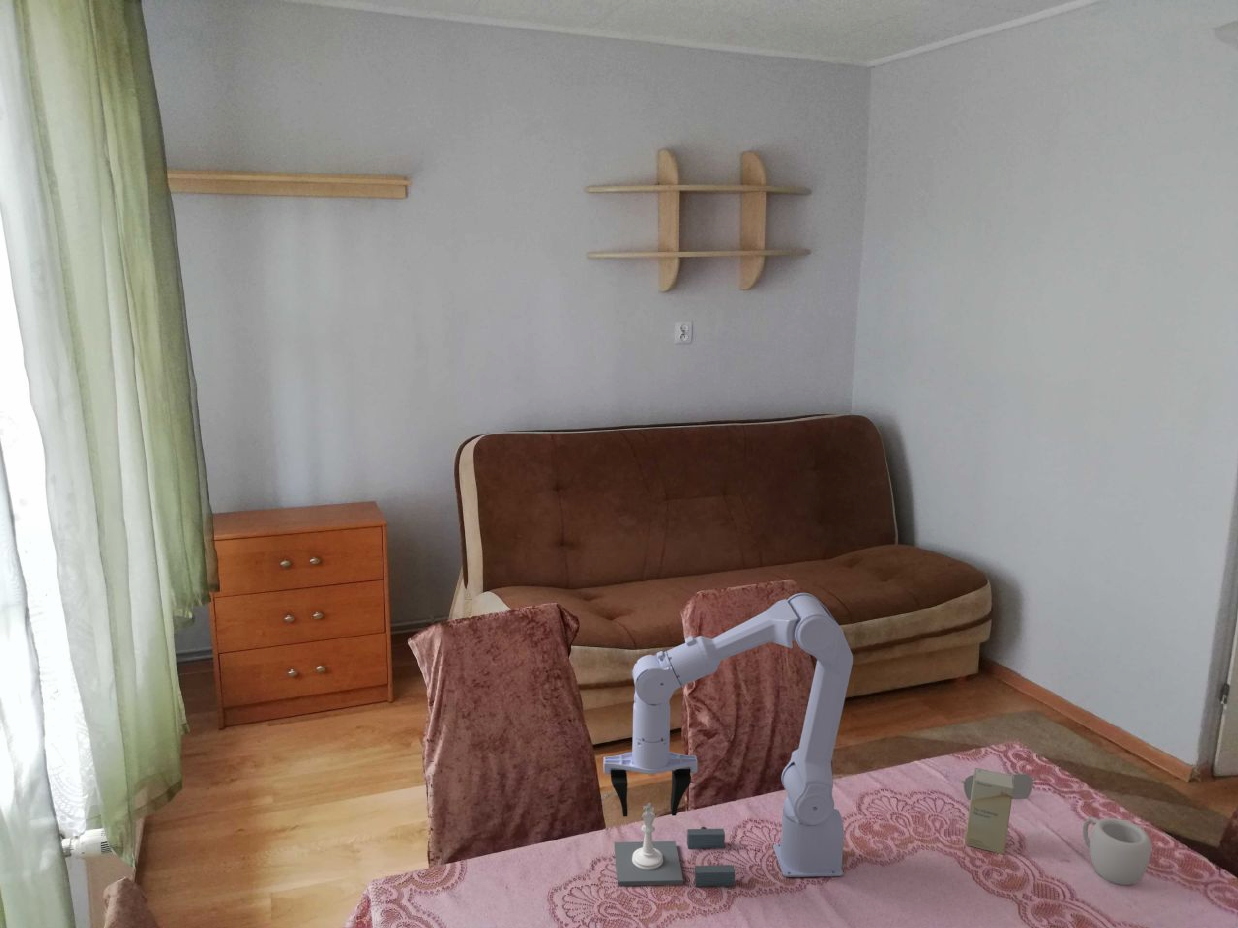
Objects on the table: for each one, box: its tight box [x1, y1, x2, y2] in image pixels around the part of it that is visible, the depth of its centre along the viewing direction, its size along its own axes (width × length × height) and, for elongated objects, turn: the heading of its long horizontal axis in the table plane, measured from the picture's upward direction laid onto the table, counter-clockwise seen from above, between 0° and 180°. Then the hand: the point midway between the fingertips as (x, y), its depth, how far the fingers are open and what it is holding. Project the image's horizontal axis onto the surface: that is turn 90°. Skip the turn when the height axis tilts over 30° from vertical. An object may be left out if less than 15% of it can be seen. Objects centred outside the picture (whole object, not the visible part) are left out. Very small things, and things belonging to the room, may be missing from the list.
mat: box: [614, 840, 684, 887], centre depth 151 cm, size 10×10×1 cm
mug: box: [1082, 816, 1152, 886], centre depth 151 cm, size 12×8×8 cm
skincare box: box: [965, 767, 1014, 855], centre depth 157 cm, size 6×4×12 cm
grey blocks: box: [686, 826, 736, 888], centre depth 152 cm, size 6×13×2 cm, turn 3°
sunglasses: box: [945, 769, 1036, 801], centre depth 175 cm, size 14×8×5 cm, turn 94°
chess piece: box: [632, 802, 663, 870], centre depth 150 cm, size 5×5×10 cm
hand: (649, 812), depth 149 cm, fingers open, 7 cm apart
